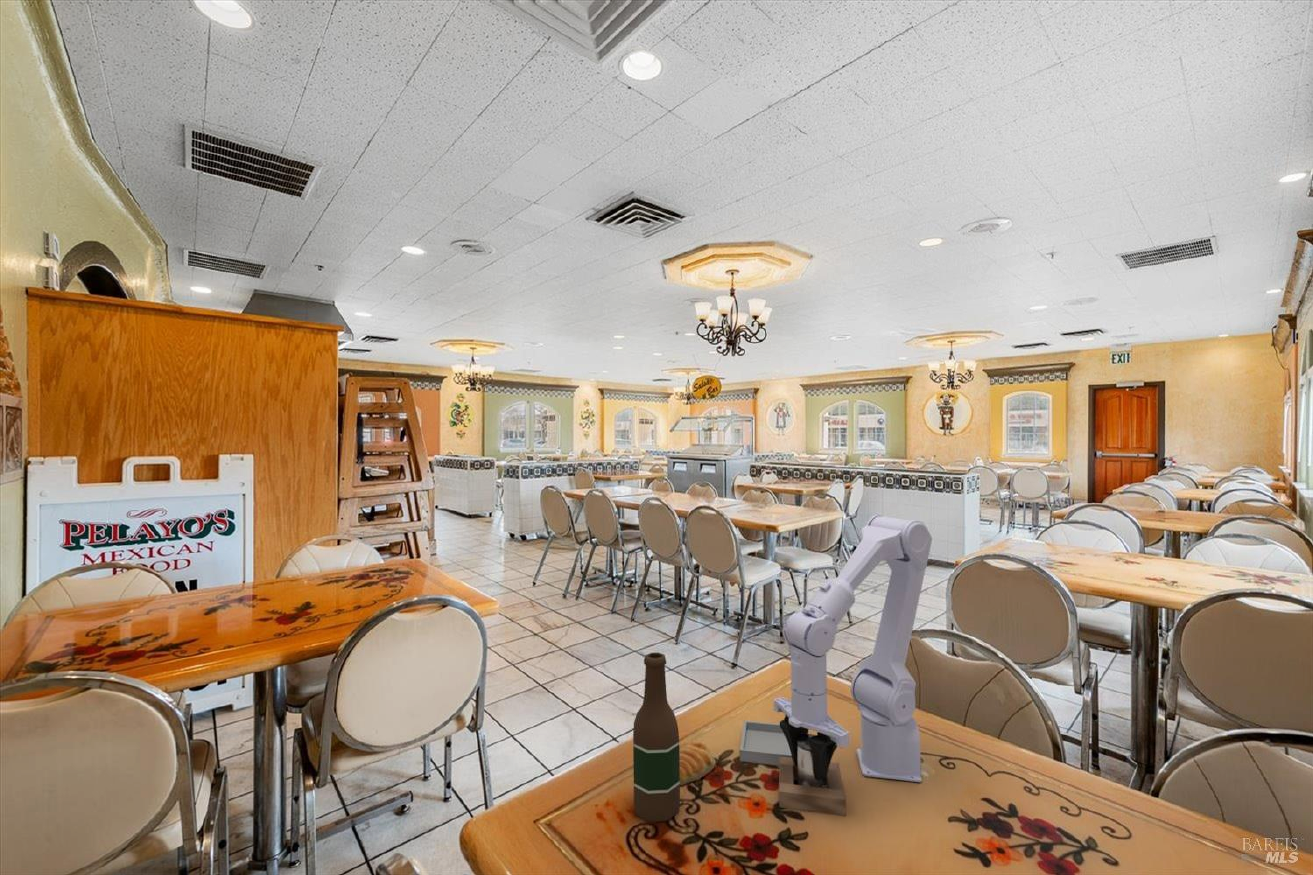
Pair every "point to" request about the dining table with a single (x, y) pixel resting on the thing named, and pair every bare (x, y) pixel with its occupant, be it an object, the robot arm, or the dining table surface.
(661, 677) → the beer bottle
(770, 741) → the tray
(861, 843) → the dining table surface
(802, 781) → the steel pin
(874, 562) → the robot arm
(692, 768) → the pastry
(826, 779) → the eye block
